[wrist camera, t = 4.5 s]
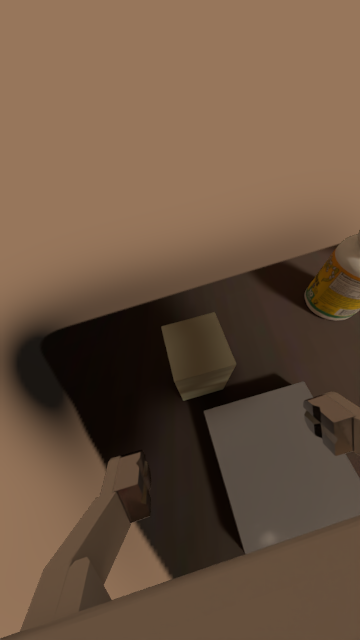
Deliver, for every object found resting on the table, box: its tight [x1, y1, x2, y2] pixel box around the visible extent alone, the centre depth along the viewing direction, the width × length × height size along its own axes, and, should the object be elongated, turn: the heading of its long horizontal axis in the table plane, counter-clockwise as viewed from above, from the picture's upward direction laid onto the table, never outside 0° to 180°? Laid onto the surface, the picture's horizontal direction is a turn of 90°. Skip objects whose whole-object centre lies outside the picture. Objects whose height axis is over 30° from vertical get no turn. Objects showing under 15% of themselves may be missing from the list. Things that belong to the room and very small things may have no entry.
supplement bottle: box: [304, 230, 360, 320], centre depth 19 cm, size 5×5×10 cm
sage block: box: [161, 312, 236, 401], centre depth 17 cm, size 4×4×8 cm
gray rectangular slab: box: [203, 381, 360, 555], centre depth 15 cm, size 9×9×2 cm
